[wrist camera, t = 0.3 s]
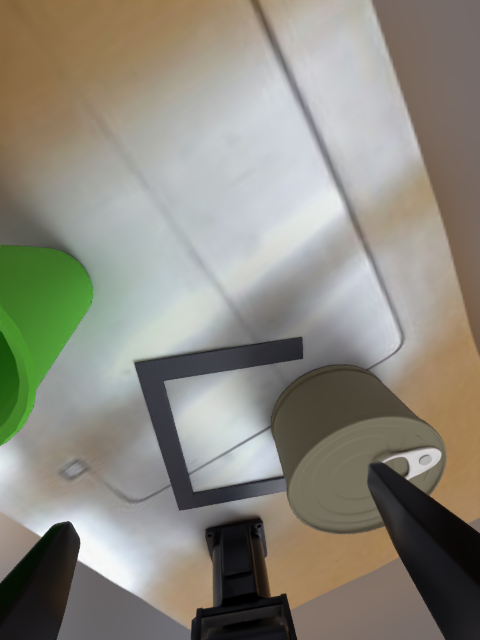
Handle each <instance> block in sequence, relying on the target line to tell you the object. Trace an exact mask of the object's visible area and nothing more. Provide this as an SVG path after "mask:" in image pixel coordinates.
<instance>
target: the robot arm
mask: <svg viewBox="0 0 480 640" xmlns="http://www.w3.org/2000/svg"><path fill="white" fill-rule="evenodd" d="M367 485H368V488H369V491H370V493H371V496H372V498H373V500H374V502H375V505H376V507H377V509H378V511H379V514H380V516H381V518H382V520H383V523H384V525H385V527H386V529H387V532H388V534H389V536H390V538H391V540H392V543H393V545H394V547H395V549H396V551H397V553H398V555H399V556H400V558H401V560H402V562H403V564H404V566H405V567H406V569H407V571H408V573H409V575H410V576H411V578H412V580H413V582H414V584H415V585H416V587H417V589H418V591H419V593H420V594H421V596H422V598H423V600H424V602H425V604H426V605H427V607H428V609H429V611H430V612H431V614H432V616H433V618H434V620H435V622H436V624H437V625H438V627H439V629H440V631H441V633H442V634H443V636H444V638H445V640H480V533H479V532H477V531H476V530H475V529H474V528H472V527H471V526H469V525H468V524H467V523H465V522H464V521H463V520H461V519H460V518H459V517H457V516H456V515H454V514H453V513H452V512H450V511H449V510H448V509H446V508H445V507H444V506H442V505H441V504H440V503H438V502H437V501H435V500H434V499H433V498H431V497H430V496H429V495H427V494H426V493H425V492H423V491H422V490H421V489H419V488H418V487H416V486H415V485H414V484H412V483H411V482H410V481H408V480H407V479H406V478H404V477H403V476H401V475H400V474H399V473H397V472H396V471H395V470H393V469H392V468H391V467H389V466H388V465H387V464H385V463H383V462H374V463H370V464H369V465H368V475H367ZM205 537H206V541H207V544H208V548H209V552H210V556H211V560H212V563H213V607H211V608H205V609H203V608H197V613H196V617H195V618H194V619H193V620H192V628H191V640H297V637H296V633H295V628H294V624H293V620H292V616H291V612H290V608H289V603H288V599H287V595H286V593H285V594H281V596H275V597H271V594H270V588H269V581H268V575H267V569H266V563H265V557H267V548H266V541H265V533H264V526H263V521H262V520H260V519H259V520H253V521H248V522H243V523H237V524H232V525H227V526H221V527H216V528H211V529H207V530H206V531H205ZM79 549H80V538H79V536H78V534H77V532H76V530H75V528H74V527H73V525H72V523H71V522H69V521H67V522H62V523H57V524H55V525H53V526H52V527H51V528H50V529H49V530H48V531H47V532H46V533H45V534H44V536H43V537H42V538H41V539H40V540H39V541H38V542H37V543H36V544H35V545H34V547H33V548H32V549H31V550H30V551H29V552H28V553H27V554H26V555H25V557H24V558H23V559H22V560H21V561H20V562H19V563H18V564H17V565H16V566H15V567H14V569H13V570H12V571H11V572H10V573H9V574H8V575H7V576H6V577H5V578H4V580H3V581H2V582H1V583H0V640H56V639H57V636H58V633H59V630H60V627H61V623H62V619H63V616H64V613H65V608H66V605H67V600H68V596H69V591H70V588H71V583H72V579H73V574H74V570H75V566H76V562H77V558H78V553H79Z"/></svg>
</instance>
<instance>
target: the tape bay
mask: <svg viewBox="0 0 480 640" xmlns="http://www.w3.org/2000/svg"><path fill="white" fill-rule="evenodd" d="M298 359H303V344H302V337H299V338H292V339H286V340H280V341H273V342H267V343H260V344H254V345H247V346H241V347H234V348H228V349H221V350H215V351H208V352H202V353H195V354H189V355H182V356H176V357H169V358H163V359H156V360H150V361H143V362H137V363H135V367H136V370H137V374H138V377H139V380H140V383H141V387H142V390H143V393H144V396H145V400H146V403H147V406H148V410H149V413H150V416H151V419H152V423H153V426H154V429H155V432H156V436H157V439H158V442H159V446H160V449H161V452H162V455H163V459H164V462H165V465H166V468H167V472H168V475H169V478H170V482H171V485H172V488H173V491H174V495H175V498H176V501H177V504H178V508H179V511H181V510H186V509H192V508H197V507H203V506H208V505H213V504H219V503H224V502H230V501H235V500H241V499H246V498H251V497H257V496H262V495H268V494H273V493H278V492H284V491H287V490H286V487H287V486H286V481H285V478H284V477H279V478H274V479H268V480H263V481H257V482H252V483H246V484H241V485H235V486H230V487H224V488H219V489H213V490H208V491H202V492H197V493H193V491H192V487H191V484H190V480H189V476H188V472H187V469H186V465H185V461H184V457H183V454H182V450H181V446H180V442H179V439H178V435H177V431H176V427H175V424H174V420H173V416H172V412H171V409H170V405H169V401H168V397H167V394H166V390H165V386H164V382H163V381H166V380H172V379H178V378H185V377H191V376H197V375H204V374H210V373H216V372H223V371H229V370H235V369H242V368H248V367H254V366H261V365H267V364H273V363H279V362H286V361H292V360H298Z"/></svg>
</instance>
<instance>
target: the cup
mask: <svg viewBox="0 0 480 640" xmlns="http://www.w3.org/2000/svg"><path fill="white" fill-rule="evenodd" d="M92 298H93V287H92V283H91V280H90V277H89V275H88V274H87V272H86V270H85V269H84V268H83V267H82V265H81V264H80V263H79V262H78V261H76V260H75V259H74V258H72V257H71V256H69V255H68V254H66V253H63V252H61V251H59V250H55V249H51V248H43V247H28V246H12V245H0V446H1V445H3V444H4V443H6V442H8V441H9V440H10V439H11V438H12V437H13V436H14V435H15V434H16V433H17V432H18V431H19V430H20V429H21V428H22V427H23V426H24V424H25V422H26V420H27V418H28V417H29V415H30V413H31V411H32V409H33V407H34V402H35V395H36V389H37V388H38V386H39V384H40V383H41V381H42V380H43V378H44V377H45V375H46V374H47V372H48V371H49V369H50V367H51V366H52V364H53V363H54V361H55V360H56V358H57V357H58V355H59V354H60V352H61V350H62V349H63V347H64V346H65V344H66V343H67V341H68V340H69V338H70V337H71V335H72V333H73V332H74V330H75V329H76V327H77V326H78V324H79V323H80V321H81V320H82V318H83V316H84V315H85V313H86V312H87V310H88V308H89V307H90V305H91V303H92Z"/></svg>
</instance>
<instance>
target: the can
mask: <svg viewBox="0 0 480 640" xmlns="http://www.w3.org/2000/svg"><path fill="white" fill-rule="evenodd" d="M271 430H272V434H273V438H274V441H275V444H276V448H277V452H278V456H279V459H280V463H281V467H282V470H283V474H284V478H285V481H286V486H287V487H286V490H287V497H288V501H289V504H290V507H291V509H292V511H293V513H294V514H295V515H296V517H297V518H298V519H299V520H300V521H301V522H303V523H304V524H305V525H307V526H309V527H311V528H313V529H315V530H318V531H321V532H325V533H331V534H356V533H363V532H368V531H371V530H375V529H378V528H381V527H384V526H385V525H384V523H383V520H382V518H381V516H380V514H379V511H378V509H377V507H376V505H375V502H374V500H373V498H372V496H371V493H370V491H369V488H368V485H367V475H368V465H369V464H370V463H374V462H383V463H385V464H387V465H388V466H389V467H391V468H392V469H393V470H395V471H396V472H397V473H399V474H400V475H401V476H403V477H404V478H406V479H407V480H408V481H410V482H411V483H412V484H414V485H415V486H416V487H418V488H419V489H421V490H422V491H423V492H425V493H426V494H427V495H429V496H430V495H431V493H432V492H433V491H434V489H435V488H436V487H437V485H438V483H439V482H440V480H441V478H442V475H443V473H444V470H445V466H446V448H445V445H444V442H443V440H442V438H441V436H440V435H439V434H438V433H437V431H436V430H435V429H433V428H432V427H431V426H430V425H429V424H428V423H426V422H425V421H424V420H422V419H420V418H419V417H418V416H416V415H415V414H414V413H413V412H412V411H411V410H410V409H409V408H408V407H407V406H406V405H405V404H404V403H403V402H402V401H401V400H400V399H399V398H398V397H397V396H396V395H395V394H394V393H392V392H391V391H390V390H389V389H388V388H387V387H386V386H385V385H384V384H383V383H382V382H381V381H380V380H379V379H378V378H377V377H376V376H375V375H374V374H372V373H371V372H369V371H367V370H365V369H363V368H360V367H356V366H351V365H333V366H327V367H323V368H319V369H316V370H314V371H311V372H309V373H307V374H305V375H304V376H302V377H300V378H299V379H297V380H296V381H295V382H293V383H292V384H291V385H290V386H289V387H288V388H287V389H286V390H285V391H284V392H283V394H282V395H281V396H280V398H279V399H278V401H277V403H276V405H275V407H274V410H273V413H272V418H271Z"/></svg>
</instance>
